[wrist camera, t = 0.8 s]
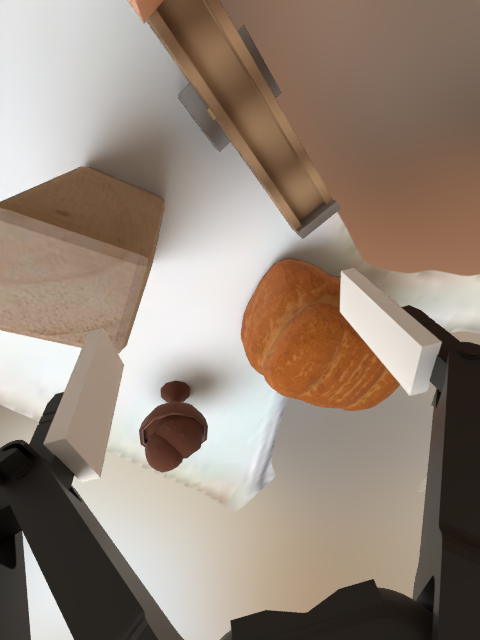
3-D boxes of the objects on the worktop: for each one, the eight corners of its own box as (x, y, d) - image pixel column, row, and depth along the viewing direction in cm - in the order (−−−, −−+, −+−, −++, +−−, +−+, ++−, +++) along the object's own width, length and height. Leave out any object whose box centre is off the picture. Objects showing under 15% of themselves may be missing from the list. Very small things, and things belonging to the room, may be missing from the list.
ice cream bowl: (170, 418, 60) (167, 496, 47) (132, 387, 54) (117, 467, 41) (215, 395, 58) (224, 468, 46) (181, 360, 52) (180, 434, 40)
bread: (277, 242, 43) (322, 298, 29) (384, 288, 51) (460, 351, 37) (228, 335, 51) (245, 414, 37) (327, 363, 58) (372, 438, 45)
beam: (79, -36, 26) (38, -99, 19) (142, -123, 24) (124, -232, 17) (272, 225, 41) (292, 247, 34) (320, 184, 40) (352, 199, 32)
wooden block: (80, 161, 34) (-16, 199, 17) (167, 198, 37) (155, 257, 21) (67, 242, 38) (-19, 331, 22) (145, 267, 42) (121, 361, 25)
